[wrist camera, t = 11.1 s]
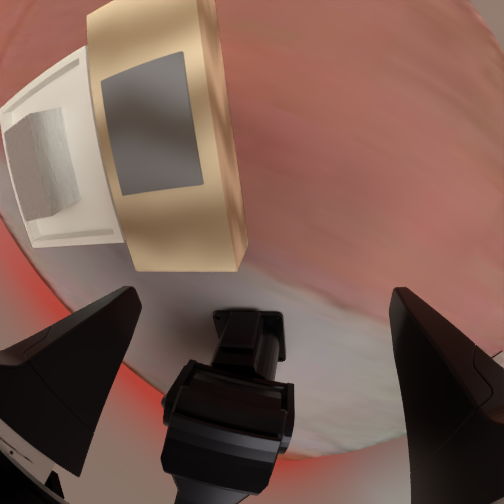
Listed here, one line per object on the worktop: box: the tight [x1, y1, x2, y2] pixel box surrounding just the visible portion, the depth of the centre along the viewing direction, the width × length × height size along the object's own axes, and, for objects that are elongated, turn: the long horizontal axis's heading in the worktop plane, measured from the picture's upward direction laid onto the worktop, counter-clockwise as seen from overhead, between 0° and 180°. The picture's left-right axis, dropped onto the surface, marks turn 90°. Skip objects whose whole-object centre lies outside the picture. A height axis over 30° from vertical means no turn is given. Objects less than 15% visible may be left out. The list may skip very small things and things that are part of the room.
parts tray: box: [0, 45, 126, 248], centre depth 20 cm, size 17×15×2 cm
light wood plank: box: [87, 0, 249, 272], centre depth 16 cm, size 20×8×4 cm, turn 7°
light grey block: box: [4, 107, 81, 222], centre depth 18 cm, size 9×5×4 cm, turn 7°
